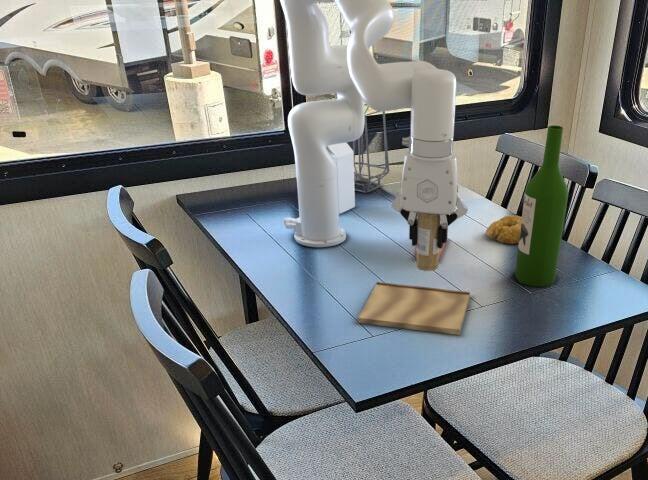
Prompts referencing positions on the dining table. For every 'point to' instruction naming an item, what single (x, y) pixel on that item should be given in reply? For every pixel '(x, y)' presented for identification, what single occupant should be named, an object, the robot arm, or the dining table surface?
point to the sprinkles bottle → (427, 241)
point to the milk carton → (344, 174)
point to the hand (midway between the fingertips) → (428, 243)
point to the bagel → (505, 229)
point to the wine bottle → (543, 218)
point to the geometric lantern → (368, 158)
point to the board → (415, 308)
